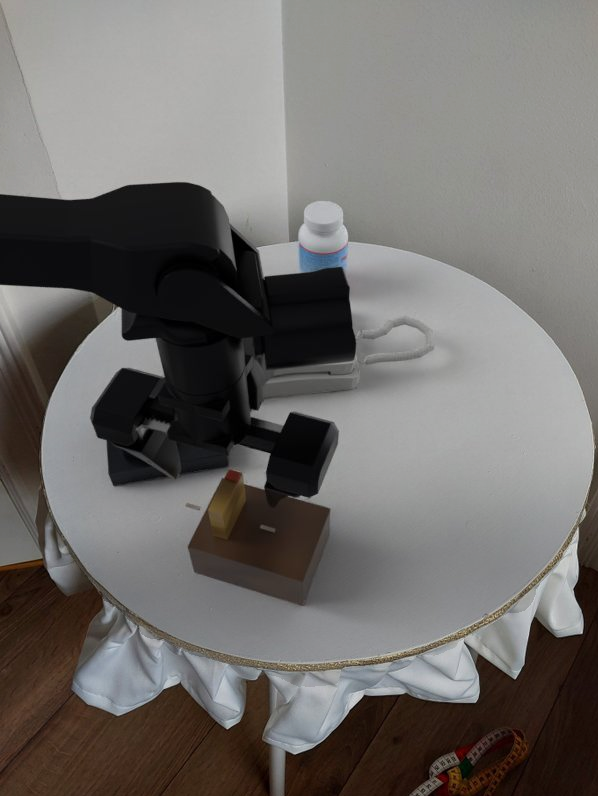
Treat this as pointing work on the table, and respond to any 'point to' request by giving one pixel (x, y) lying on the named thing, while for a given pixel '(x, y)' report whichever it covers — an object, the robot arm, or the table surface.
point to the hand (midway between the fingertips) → (225, 488)
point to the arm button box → (134, 469)
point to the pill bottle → (322, 238)
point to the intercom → (343, 365)
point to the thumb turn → (227, 504)
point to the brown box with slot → (265, 546)
